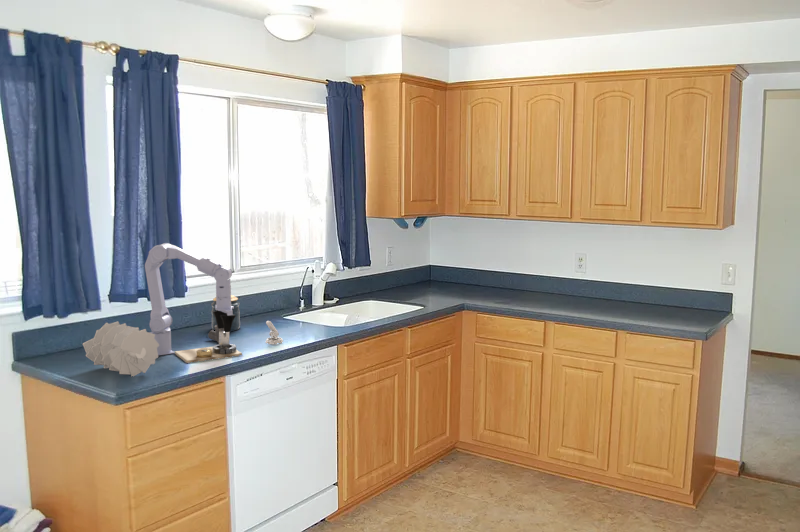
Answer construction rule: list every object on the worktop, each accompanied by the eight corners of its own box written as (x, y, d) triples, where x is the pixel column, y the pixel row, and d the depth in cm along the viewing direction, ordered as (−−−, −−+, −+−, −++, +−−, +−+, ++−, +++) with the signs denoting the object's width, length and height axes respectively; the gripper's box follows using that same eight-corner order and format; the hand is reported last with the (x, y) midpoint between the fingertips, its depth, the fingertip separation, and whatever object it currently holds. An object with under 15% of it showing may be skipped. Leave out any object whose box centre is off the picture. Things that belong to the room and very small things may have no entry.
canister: (244, 329, 322) (244, 292, 320) (217, 333, 315) (216, 294, 312) (234, 324, 333) (233, 288, 330) (207, 327, 325) (206, 290, 323)
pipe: (216, 338, 304) (215, 321, 303) (234, 343, 296) (233, 325, 295) (204, 341, 300) (203, 323, 299) (222, 346, 292) (221, 327, 290)
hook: (253, 333, 294) (259, 321, 299) (267, 352, 300) (273, 340, 305) (267, 331, 291) (273, 319, 296) (281, 350, 297) (287, 338, 302)
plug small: (199, 358, 268) (199, 353, 268) (194, 355, 273) (194, 349, 273) (214, 356, 271) (214, 351, 271) (209, 353, 276) (209, 347, 276)
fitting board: (186, 363, 265) (186, 360, 265) (174, 353, 278) (174, 351, 278) (242, 355, 277) (241, 353, 277) (227, 346, 290) (227, 344, 290)
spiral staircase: (116, 373, 264) (154, 382, 249) (74, 362, 251) (111, 371, 236) (132, 327, 269) (170, 333, 253) (91, 314, 255) (129, 320, 240)
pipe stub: (220, 353, 276) (220, 333, 275) (217, 350, 280) (217, 331, 279) (230, 351, 278) (230, 332, 277) (227, 349, 282) (227, 330, 281)
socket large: (217, 355, 273) (217, 350, 273) (209, 350, 280) (209, 345, 280) (239, 352, 278) (239, 347, 278) (231, 347, 285) (231, 342, 285)
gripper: (239, 298, 273) (240, 332, 274) (226, 293, 284) (227, 325, 286) (222, 300, 269) (222, 334, 270) (210, 294, 281) (210, 327, 282)
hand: (224, 330), depth 278 cm, fingers open, 7 cm apart
